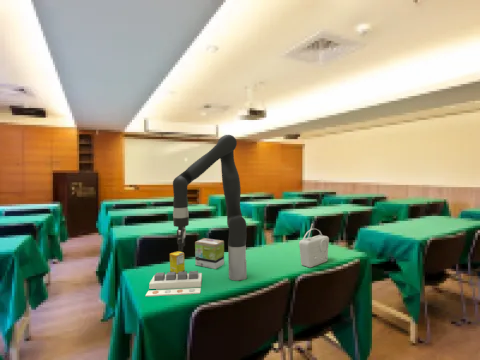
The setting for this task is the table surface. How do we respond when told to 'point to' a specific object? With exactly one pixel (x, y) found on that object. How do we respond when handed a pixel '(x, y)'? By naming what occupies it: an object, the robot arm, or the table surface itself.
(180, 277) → the button
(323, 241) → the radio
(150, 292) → the pattern card
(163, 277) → the button
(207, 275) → the table surface
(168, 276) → the button
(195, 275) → the button
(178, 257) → the supplement box
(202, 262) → the tea box
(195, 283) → the button board
